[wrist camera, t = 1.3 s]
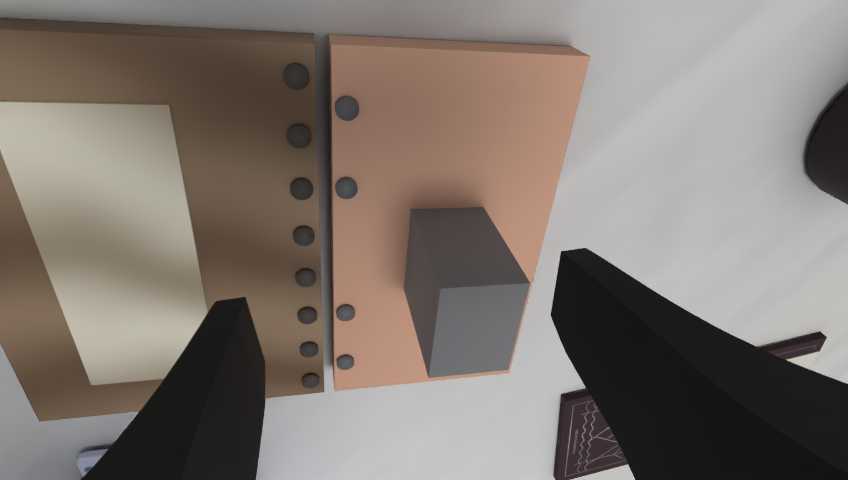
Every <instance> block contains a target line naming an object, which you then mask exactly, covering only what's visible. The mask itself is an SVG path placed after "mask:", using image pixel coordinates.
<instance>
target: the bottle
mask: <svg viewBox="0 0 848 480" xmlns="http://www.w3.org/2000/svg"><path fill="white" fill-rule="evenodd" d="M807 163H808V170H809V176H810V177H811V179H812V180H813V181H814V183H815V184H816V185H817V186H818V188H819V189H821V190H822V191H824V192H826V193H828V194H830V195H831V196H833V197H835V198H837V199H839V200H841V201H842V202H844V203H846V204H848V89H847V90H846V91H845V92H844V93H843V94H842V95H841V96H840V97H839V98H838V99H837V100H836V101H835V102H834V104H833V105H832V106H831V108H830V109H829V110H828V111H827V113H826V114H825V115H824V117H823V118H822V120H821V121H820V123H819V125H818V127H817V129H816V131H815V133H814V135H813V137H812V140H811V144H810V149H809V153H808V158H807Z"/></svg>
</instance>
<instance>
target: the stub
mask: <svg viewBox="0 0 848 480" xmlns="http://www.w3.org/2000/svg"><path fill="white" fill-rule="evenodd" d="M589 59H590V56H588V55H587V54H585V53H583V52H581V51H579V50H577V49H575V48H573V47H570V46H550V45H530V44H510V43H490V42H470V41H450V40H430V39H410V38H390V37H370V36H350V35H330V34H329V104H330V184H331V264H332V344H333V377H334V389H335V391H339V390H349V389H358V388H368V387H378V386H387V385H397V384H407V383H417V382H426V381H436V380H446V379H455V378H465V377H475V376H484V375H494V374H504V373H509V372H510V368H511V364H512V360H513V356H514V352H515V348H516V344H517V340H518V337H519V333H520V329H521V325H522V321H523V317H524V313H525V309H526V305H527V301H528V297H529V294H530V290H531V286H532V282H533V278H534V274H535V270H536V266H537V262H538V258H539V255H540V251H541V247H542V243H543V239H544V235H545V231H546V227H547V223H548V219H549V215H550V212H551V208H552V204H553V200H554V196H555V192H556V188H557V184H558V180H559V176H560V173H561V169H562V165H563V161H564V157H565V153H566V149H567V145H568V141H569V137H570V133H571V130H572V126H573V122H574V118H575V114H576V110H577V106H578V102H579V98H580V94H581V90H582V87H583V83H584V79H585V75H586V71H587V67H588V63H589Z"/></svg>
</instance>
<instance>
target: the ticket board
mask: <svg viewBox="0 0 848 480" xmlns="http://www.w3.org/2000/svg"><path fill="white" fill-rule="evenodd" d="M240 297H246V300H247V303H248V307H249V310H250V313H251V317H252V320H253V323H254V326H255V330H256V333H257V336H258V340H259V343H260V346H261V349H262V353H263V356H264V359H265V398H271V397H281V396H291V395H300V394H310V393H320V392H324V370H323V332H322V295H321V257H320V220H319V182H318V145H317V107H316V70H315V41H314V34H310V33H290V32H270V31H250V30H230V29H210V28H190V27H170V26H150V25H130V24H110V23H90V22H70V21H50V20H30V19H10V18H0V343H1V345H2V347H3V349H4V351H5V353H6V356H7V358H8V360H9V362H10V364H11V366H12V368H13V370H14V372H15V374H16V376H17V378H18V380H19V382H20V384H21V386H22V388H23V390H24V392H25V394H26V396H27V398H28V400H29V402H30V404H31V406H32V408H33V410H34V412H35V414H36V416H37V418H38V420H39V421H48V420H58V419H68V418H77V417H87V416H97V415H106V414H116V413H126V412H135V411H140V410H141V409H142V408H143V406H144V405H145V404H146V402H147V401H148V400H149V398H150V397H151V396H152V394H153V393H154V392H155V391H156V389H157V388H158V387H159V385H160V384H161V382H162V381H163V380H164V378H165V377H166V375H167V374H168V372H169V371H170V370H171V368H172V367H173V365H174V364H175V362H176V361H177V359H178V358H179V356H180V355H181V354H182V352H183V351H184V349H185V348H186V346H187V344H188V343H189V341H190V340H191V338H192V337H193V335H194V334H195V332H196V331H197V329H198V327H199V326H200V324H201V323H202V321H203V319H204V318H205V316H206V315H207V313H208V311H209V310H210V308H211V307H212V305H213V304H214V303H215V302H216V301H219V300H226V299H233V298H240Z"/></svg>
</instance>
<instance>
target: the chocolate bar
mask: <svg viewBox="0 0 848 480" xmlns="http://www.w3.org/2000/svg"><path fill="white" fill-rule="evenodd" d="M826 338H827V337H826V336H825V335H824V334H822V333H821V332H817V333H813V334H809V335H805V336H800V337H796V338H792V339H788V340H784V341H780V342H776V343H772V344H767V345H763V346H759V347H758V348H760V349H762V350H764V351H766V352H769V353H771V354H773V355H776V356H778V357H780V358H782V359H785V360H787V361H790V362H792V363H795V364H797V365H800V366H802V367H804V368H807V369H809V370H810V369H811V367H812V365H813V363H814V361H815V359H816V358H817V356H818V354H819V352H820V350H821V348H822V346H823V344H824V342H825V340H826ZM626 464H628V462H627V460H626V458H625V456H624V454H623V452H622V450H621V448H620V446H619V444H618V442H617V440H616V438H615V436H614V435H613V433H612V431H611V429H610V428H609V426H608V424H607V422H606V421H605V419H604V417H603V416H602V414H601V412H600V410H599V409H598V407H597V405H596V404H595V402H594V400H593V398H592V397H591V395H590V393H589V392H588V390H587V388H586V389H582V390H578V391H574V392H570V393H565V394H561V403H560V414H559V424H558V435H557V445H556V456H555V466H554V478H555V480H570V479H574V478H578V477H581V476H585V475H589V474H593V473H596V472H600V471H604V470H608V469H611V468H615V467H619V466H623V465H626Z"/></svg>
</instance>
